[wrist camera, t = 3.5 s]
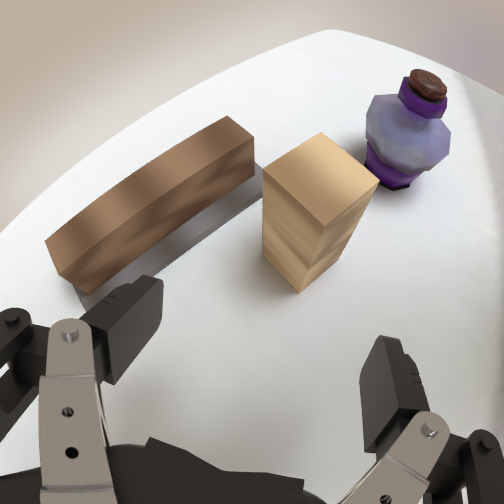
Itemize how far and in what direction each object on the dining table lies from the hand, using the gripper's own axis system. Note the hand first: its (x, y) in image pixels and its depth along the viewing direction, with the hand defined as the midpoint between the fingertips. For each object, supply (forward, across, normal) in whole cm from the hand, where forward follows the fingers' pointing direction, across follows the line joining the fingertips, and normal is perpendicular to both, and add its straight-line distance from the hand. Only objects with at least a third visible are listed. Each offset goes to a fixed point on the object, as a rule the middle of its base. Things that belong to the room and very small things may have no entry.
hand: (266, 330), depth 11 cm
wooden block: (+15, +1, -3) cm, 16 cm away
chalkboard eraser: (+15, -11, -3) cm, 19 cm away
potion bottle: (+24, +8, +5) cm, 26 cm away
